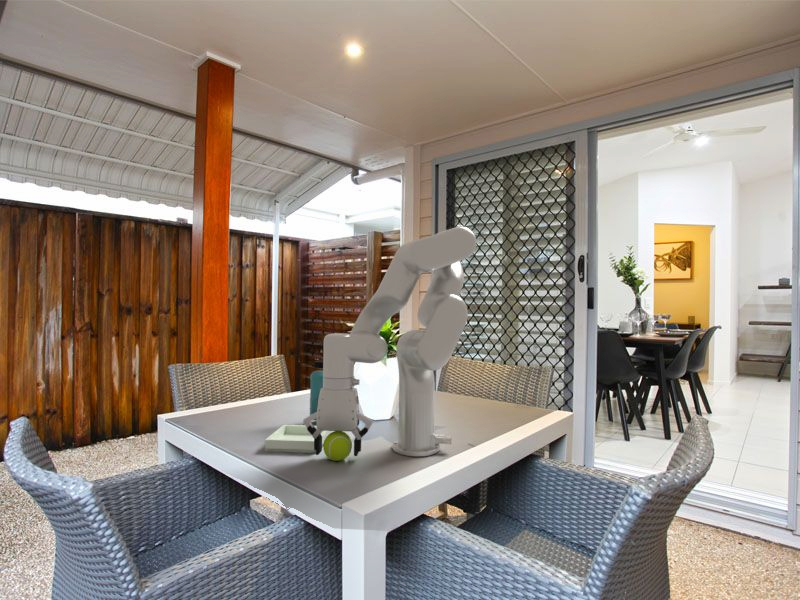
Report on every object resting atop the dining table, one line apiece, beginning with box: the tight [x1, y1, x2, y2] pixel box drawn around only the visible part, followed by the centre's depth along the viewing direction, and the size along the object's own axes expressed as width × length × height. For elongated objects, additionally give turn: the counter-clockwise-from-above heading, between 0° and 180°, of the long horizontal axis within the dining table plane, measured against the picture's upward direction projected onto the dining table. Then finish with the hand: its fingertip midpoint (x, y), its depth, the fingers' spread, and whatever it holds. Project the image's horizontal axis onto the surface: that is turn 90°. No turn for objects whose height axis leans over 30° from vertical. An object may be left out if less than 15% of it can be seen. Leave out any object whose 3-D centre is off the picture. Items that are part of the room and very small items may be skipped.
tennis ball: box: [322, 431, 353, 462], centre depth 106 cm, size 7×7×7 cm
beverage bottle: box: [309, 360, 323, 421], centre depth 139 cm, size 6×7×20 cm
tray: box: [264, 424, 332, 454], centre depth 118 cm, size 14×14×3 cm
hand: (337, 453), depth 106 cm, fingers open, 9 cm apart
